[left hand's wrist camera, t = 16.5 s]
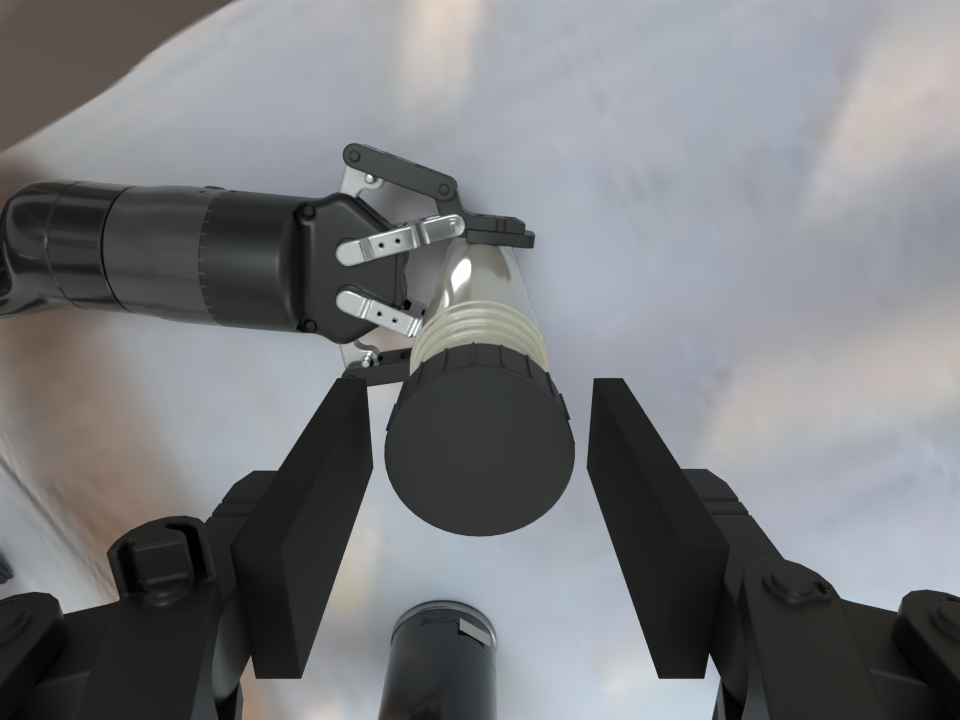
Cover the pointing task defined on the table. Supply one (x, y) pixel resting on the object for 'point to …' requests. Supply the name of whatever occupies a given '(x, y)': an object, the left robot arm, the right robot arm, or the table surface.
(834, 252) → the table surface
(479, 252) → the bottle
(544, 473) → the cap
